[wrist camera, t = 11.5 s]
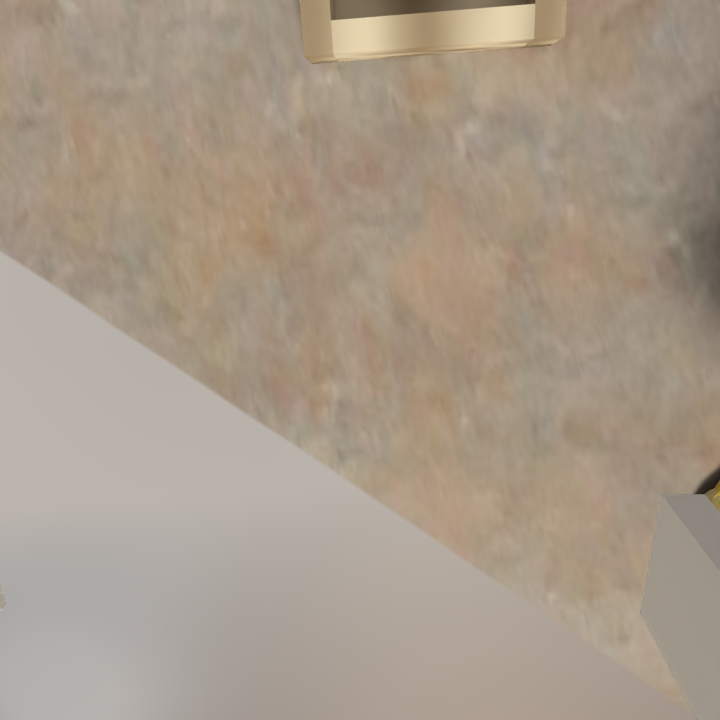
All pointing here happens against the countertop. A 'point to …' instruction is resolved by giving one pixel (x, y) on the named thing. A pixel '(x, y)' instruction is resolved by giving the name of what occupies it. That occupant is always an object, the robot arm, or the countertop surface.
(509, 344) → the countertop surface
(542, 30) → the can rest
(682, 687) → the robot arm
